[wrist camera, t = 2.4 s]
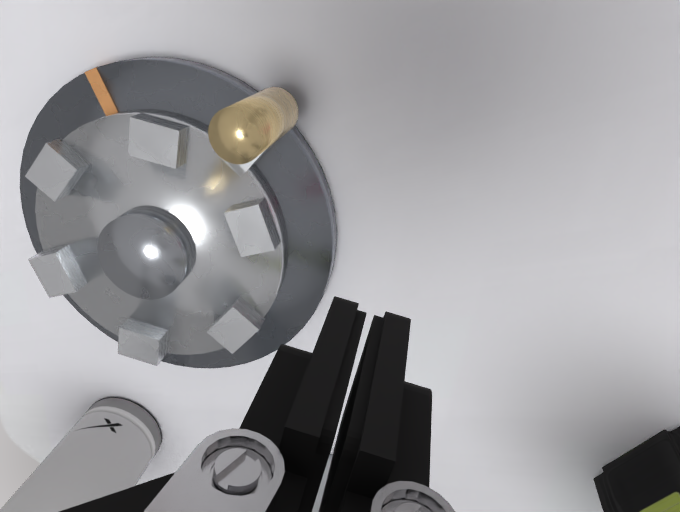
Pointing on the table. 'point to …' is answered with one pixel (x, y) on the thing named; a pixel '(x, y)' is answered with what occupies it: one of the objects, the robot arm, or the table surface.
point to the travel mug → (92, 459)
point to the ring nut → (166, 224)
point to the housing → (276, 164)
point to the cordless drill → (644, 477)
